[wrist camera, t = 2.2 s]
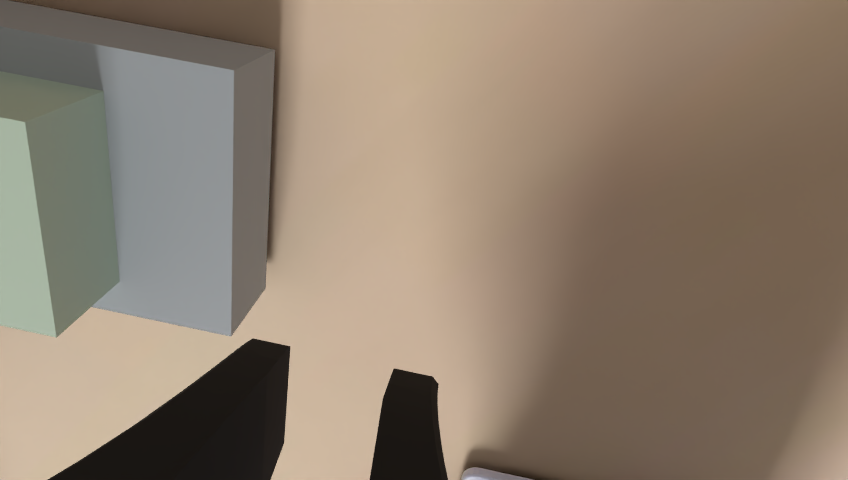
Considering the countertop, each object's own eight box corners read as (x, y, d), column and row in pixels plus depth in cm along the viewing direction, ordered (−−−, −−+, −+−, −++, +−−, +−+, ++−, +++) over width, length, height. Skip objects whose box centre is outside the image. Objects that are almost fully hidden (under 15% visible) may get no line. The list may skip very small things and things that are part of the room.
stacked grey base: (281, 46, 16) (177, 99, 11) (271, 279, 19) (186, 399, 14) (-86, -22, 17) (-338, 0, 12) (-37, 216, 20) (-219, 310, 15)
